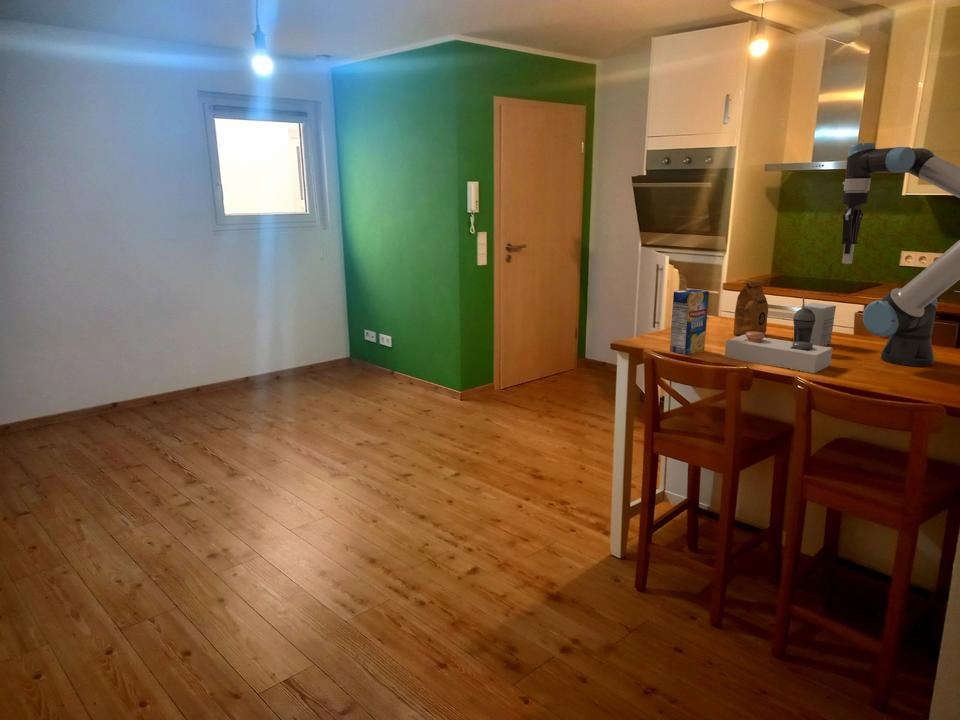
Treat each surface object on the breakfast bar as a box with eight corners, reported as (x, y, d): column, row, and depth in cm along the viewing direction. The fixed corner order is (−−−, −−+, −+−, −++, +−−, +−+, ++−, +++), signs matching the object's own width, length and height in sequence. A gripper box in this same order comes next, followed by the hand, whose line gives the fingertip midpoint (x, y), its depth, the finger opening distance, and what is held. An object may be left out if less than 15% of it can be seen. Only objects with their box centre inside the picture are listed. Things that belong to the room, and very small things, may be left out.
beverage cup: (814, 353, 232) (821, 298, 227) (792, 352, 233) (798, 297, 228) (808, 348, 239) (815, 295, 234) (787, 348, 240) (793, 294, 235)
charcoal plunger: (813, 359, 216) (815, 343, 214) (806, 363, 212) (808, 346, 210) (795, 356, 220) (797, 340, 218) (787, 359, 216) (789, 343, 215)
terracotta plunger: (766, 348, 227) (767, 333, 225) (758, 351, 223) (760, 335, 221) (749, 346, 231) (750, 330, 230) (741, 348, 227) (743, 333, 226)
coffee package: (770, 335, 261) (775, 281, 256) (750, 339, 255) (755, 283, 249) (748, 331, 269) (753, 278, 264) (729, 334, 263) (733, 280, 258)
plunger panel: (830, 365, 216) (832, 347, 214) (814, 373, 207) (816, 355, 205) (742, 350, 237) (744, 334, 236) (724, 357, 228) (726, 340, 226)
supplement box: (796, 343, 247) (800, 304, 244) (807, 340, 253) (812, 302, 249) (820, 347, 240) (825, 307, 237) (831, 344, 246) (836, 305, 242)
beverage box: (669, 351, 237) (673, 291, 231) (689, 347, 243) (693, 288, 237) (684, 355, 231) (689, 294, 226) (704, 350, 237) (709, 291, 232)
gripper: (850, 192, 222) (841, 261, 228) (836, 192, 214) (828, 264, 219) (874, 191, 217) (865, 262, 223) (862, 192, 208) (852, 265, 214)
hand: (846, 263), depth 221 cm, fingers closed
